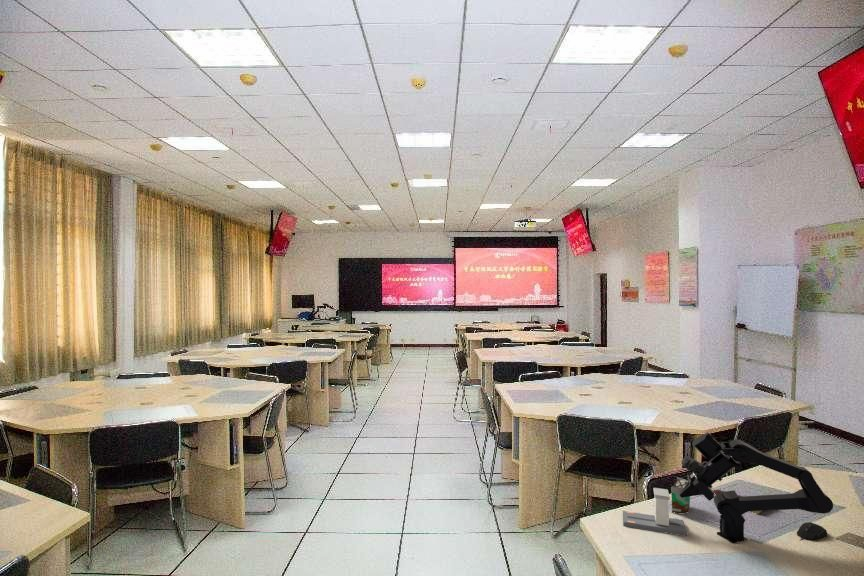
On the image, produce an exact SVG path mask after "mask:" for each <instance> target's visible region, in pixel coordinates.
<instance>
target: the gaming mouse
mask: <svg viewBox="0 0 864 576" xmlns="http://www.w3.org/2000/svg"><path fill="white" fill-rule="evenodd" d="M796 535H797V537H799V538H800V539H799V541H804V540H805V541H810V542H818V541H820V540H822V539H825V538H827V537H828V531H827V529H826V528H824V527H823V526H821V525H820V524H816V523H813V522H811V521H810V522H804V523H802V524H801V525H800V526H799V528H798V530H797V531H796Z"/></svg>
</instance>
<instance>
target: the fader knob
mask: <svg viewBox="0 0 864 576" xmlns="http://www.w3.org/2000/svg"><path fill="white" fill-rule="evenodd" d="M653 495H654V505H653V506H654V516H655V521H656V524H659V525H665V526H669V518H670V506H669V505H670V504H669V503H670V500H671V496H670V493H669V490H668V489H667V488H666V489H665V488H659V487H653Z"/></svg>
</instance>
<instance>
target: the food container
mask: <svg viewBox="0 0 864 576" xmlns="http://www.w3.org/2000/svg"><path fill="white" fill-rule="evenodd" d="M687 482H688V479H684V478H681V477H676V481H675V482H674V484H673V486H671V487H670V488H671V489H670V493H671V513H673V512H675V513H674V514H679V513H685V514H687V513H686V512H688V513H689V512H690V503H691V496H690V497H684V498H681V497H680V495H679V494H680V493H681V491H682V490H683V488H684V487H685V485H686V484H687Z"/></svg>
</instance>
